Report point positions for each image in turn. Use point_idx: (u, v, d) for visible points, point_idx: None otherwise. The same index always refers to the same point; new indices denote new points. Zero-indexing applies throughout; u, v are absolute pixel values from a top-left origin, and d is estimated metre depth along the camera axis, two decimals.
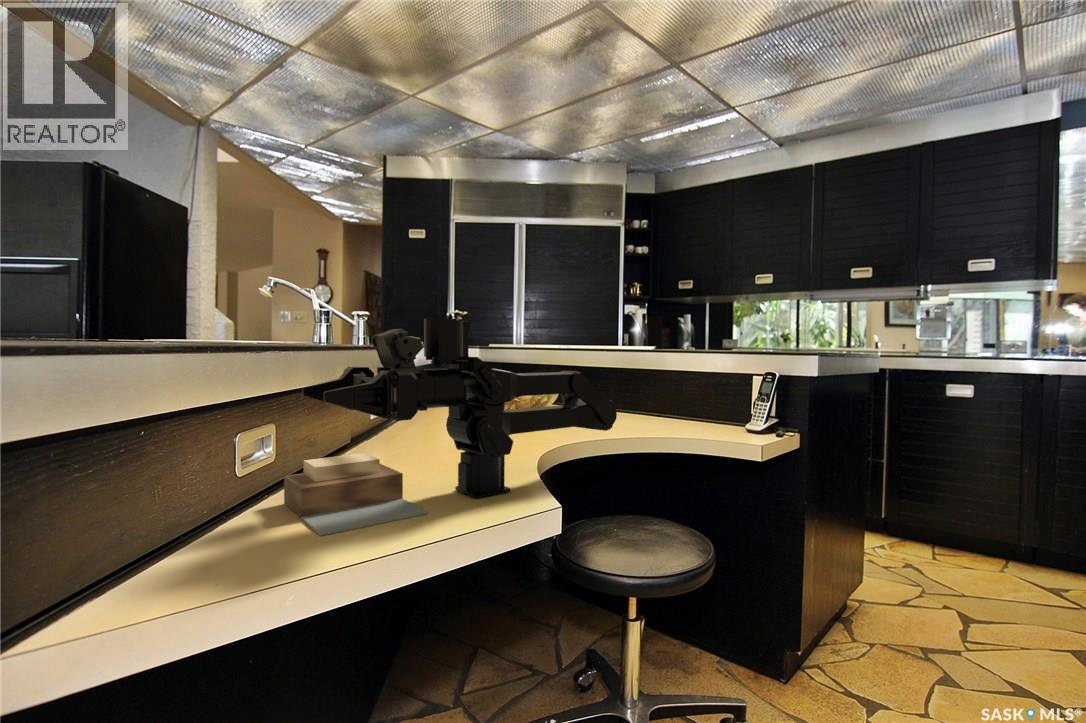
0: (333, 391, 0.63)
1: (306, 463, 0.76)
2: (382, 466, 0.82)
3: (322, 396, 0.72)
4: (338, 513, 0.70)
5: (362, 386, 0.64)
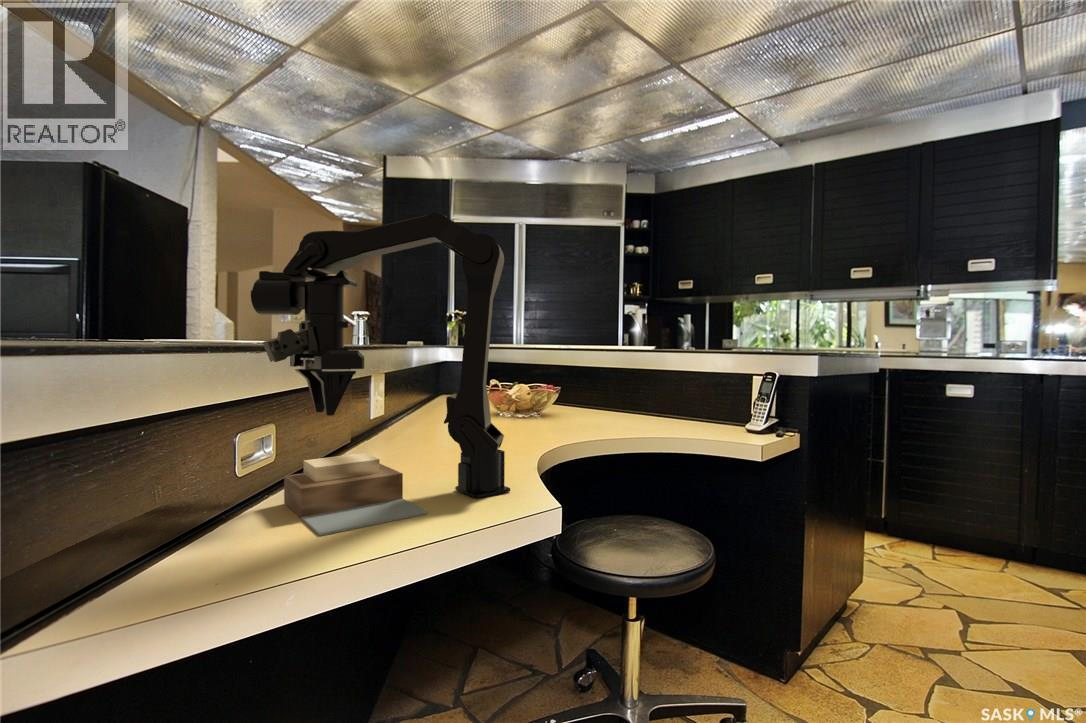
0: (327, 409, 0.81)
1: (306, 463, 0.76)
2: (382, 466, 0.82)
3: None
4: (338, 513, 0.70)
5: (325, 389, 0.79)
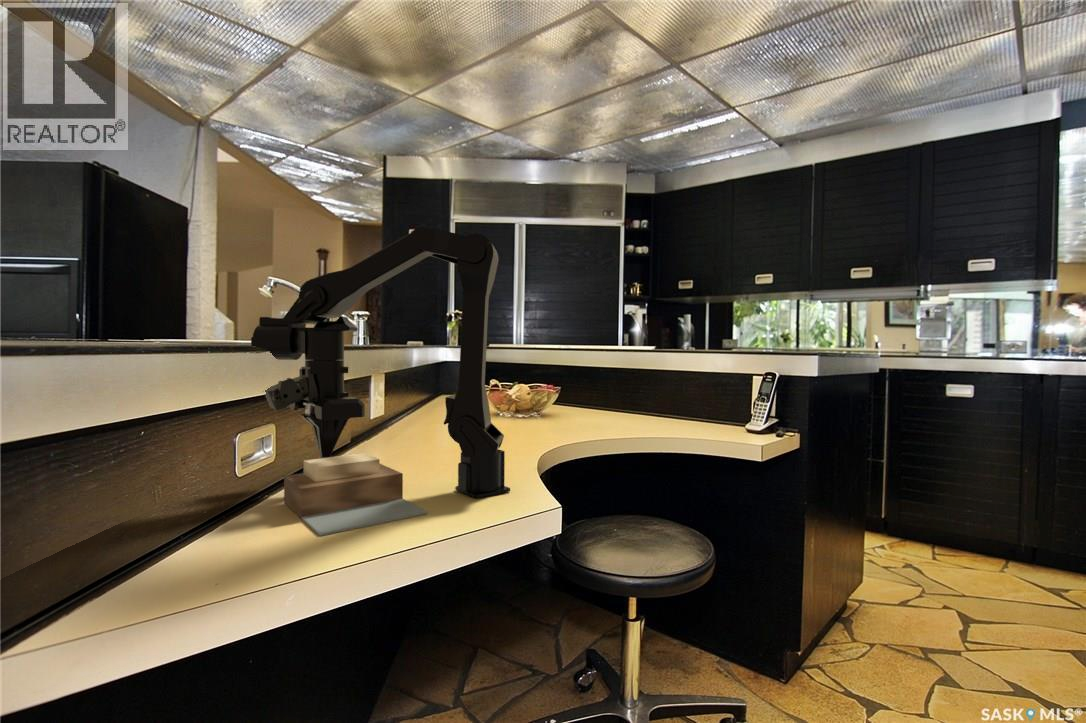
0: (322, 453, 0.83)
1: (306, 463, 0.76)
2: (382, 466, 0.82)
3: None
4: (338, 513, 0.70)
5: (320, 434, 0.81)
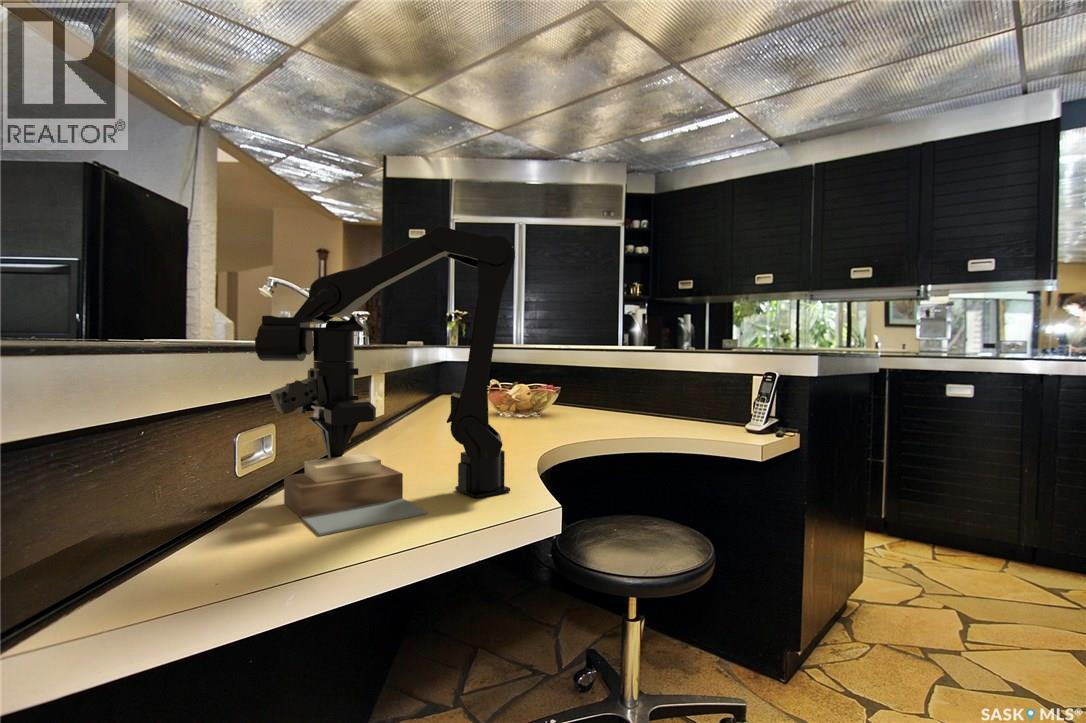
0: None
1: (307, 464, 0.75)
2: (382, 466, 0.82)
3: None
4: (338, 513, 0.70)
5: (329, 439, 0.78)
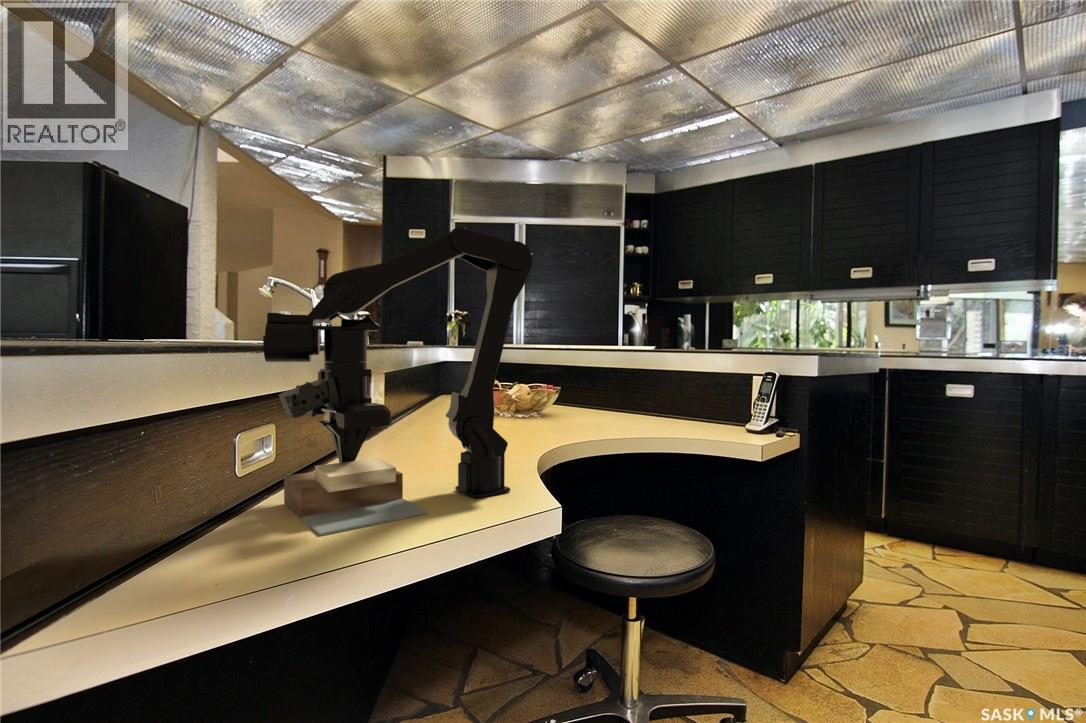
0: None
1: (318, 470, 0.71)
2: None
3: None
4: (338, 513, 0.70)
5: (341, 444, 0.74)
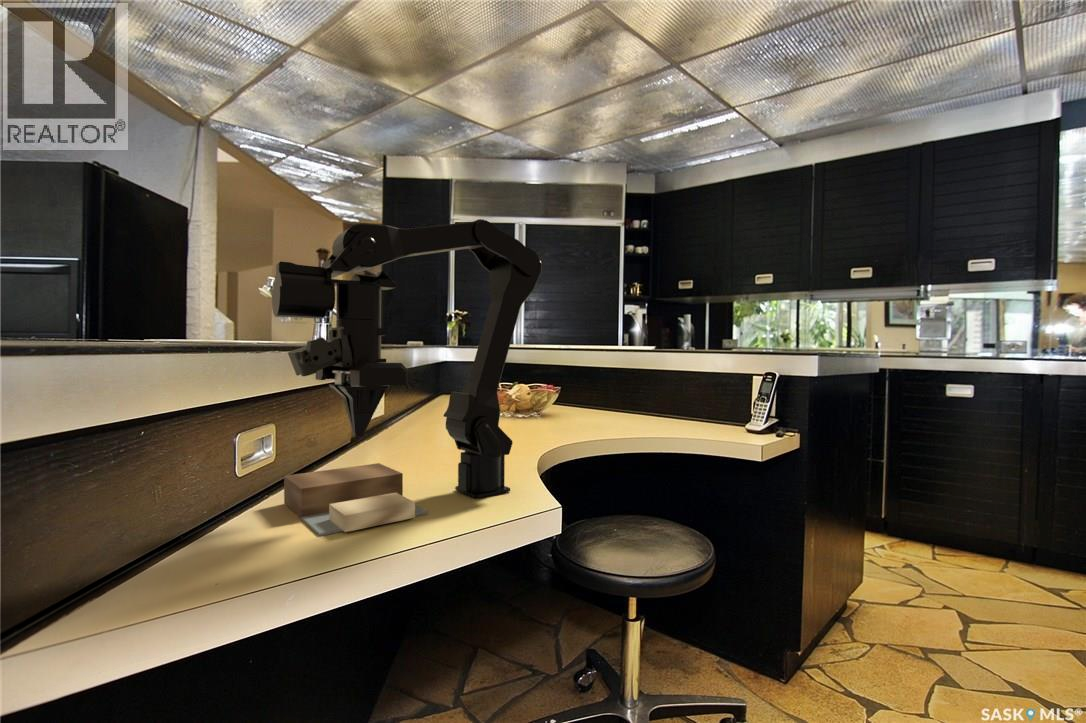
0: (355, 429, 0.70)
1: (341, 527, 0.64)
2: (382, 466, 0.82)
3: None
4: None
5: (354, 407, 0.69)
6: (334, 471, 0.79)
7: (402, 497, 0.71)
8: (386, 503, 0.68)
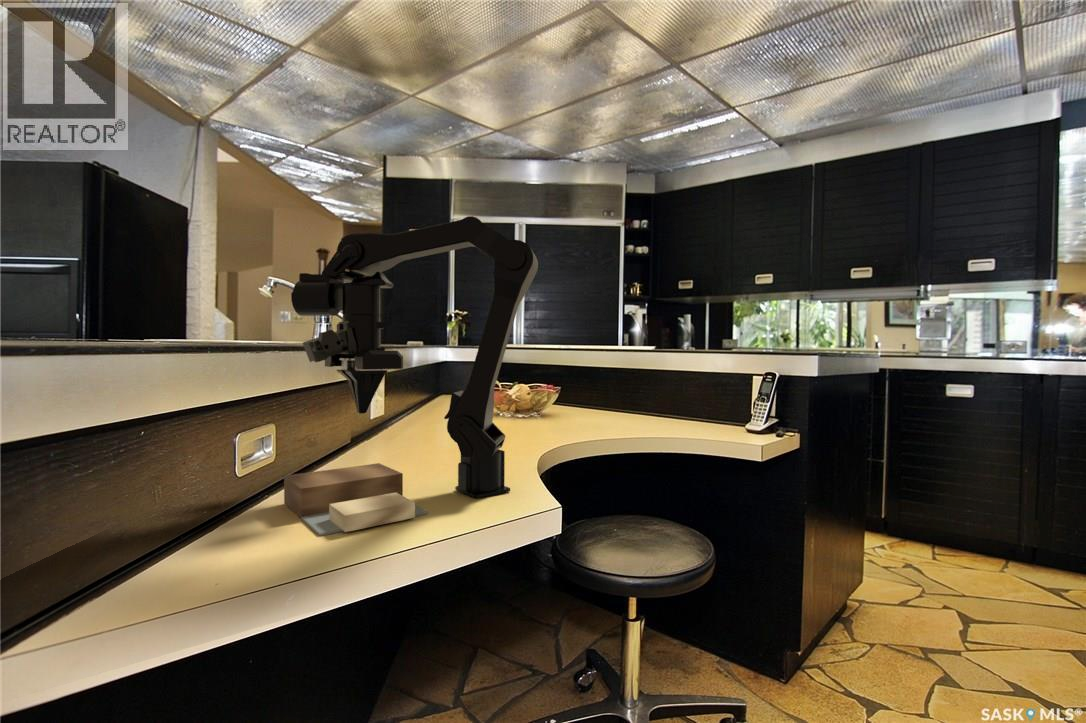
0: (359, 407, 0.84)
1: (341, 527, 0.64)
2: (382, 466, 0.82)
3: None
4: None
5: (358, 388, 0.82)
6: (334, 471, 0.79)
7: (402, 497, 0.71)
8: (386, 503, 0.68)
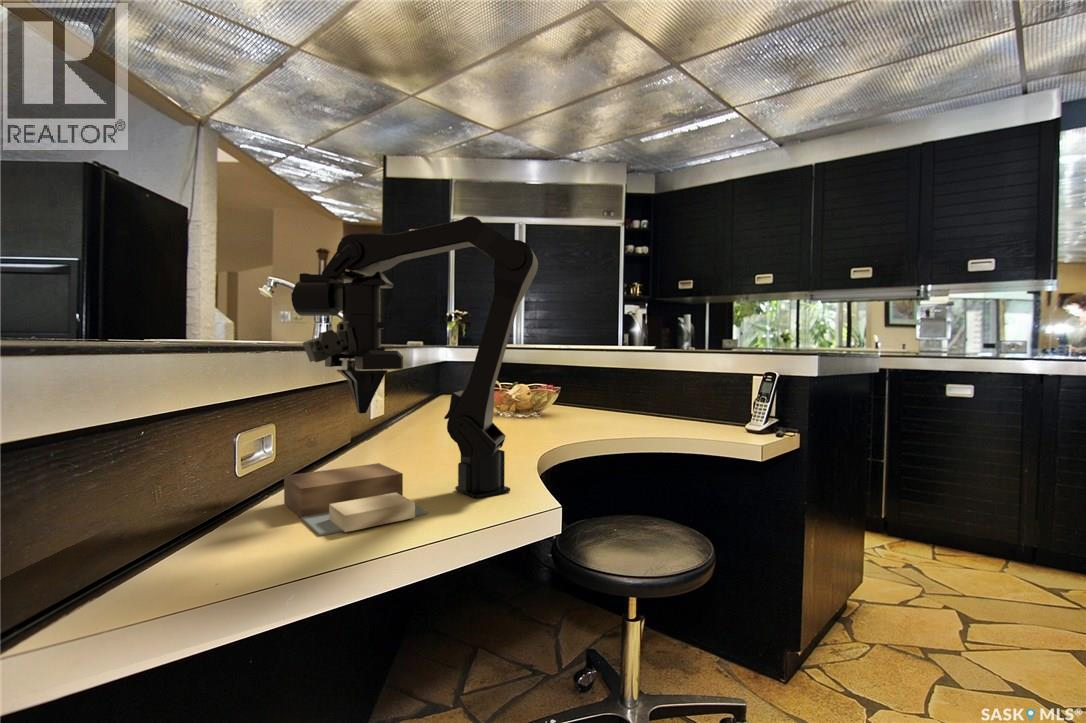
0: (359, 407, 0.84)
1: (341, 527, 0.64)
2: (382, 466, 0.82)
3: None
4: None
5: (358, 388, 0.83)
6: (334, 471, 0.79)
7: (402, 497, 0.71)
8: (386, 503, 0.68)
